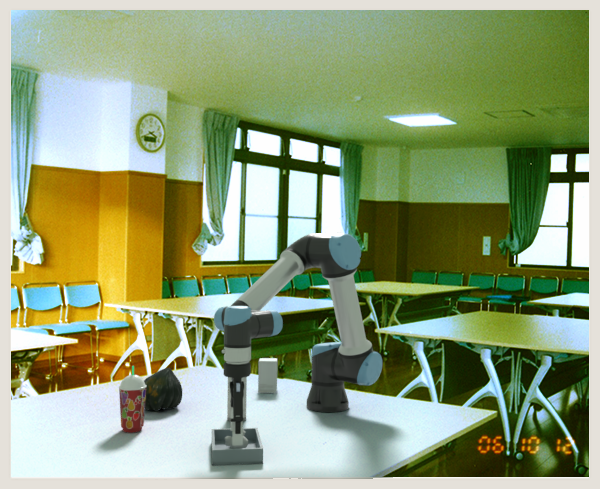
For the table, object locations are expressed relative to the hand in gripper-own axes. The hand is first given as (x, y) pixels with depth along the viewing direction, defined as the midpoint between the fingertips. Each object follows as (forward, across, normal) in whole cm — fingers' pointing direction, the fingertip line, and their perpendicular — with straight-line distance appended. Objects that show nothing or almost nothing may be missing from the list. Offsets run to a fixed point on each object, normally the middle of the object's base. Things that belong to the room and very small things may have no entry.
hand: (236, 437), depth 181 cm
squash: (+4, -51, -24) cm, 57 cm away
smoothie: (+4, -25, -31) cm, 40 cm away
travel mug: (+4, -34, +2) cm, 34 cm away
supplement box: (+4, -74, +16) cm, 76 cm away
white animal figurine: (+4, 0, 0) cm, 4 cm away
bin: (+4, 0, 0) cm, 4 cm away
